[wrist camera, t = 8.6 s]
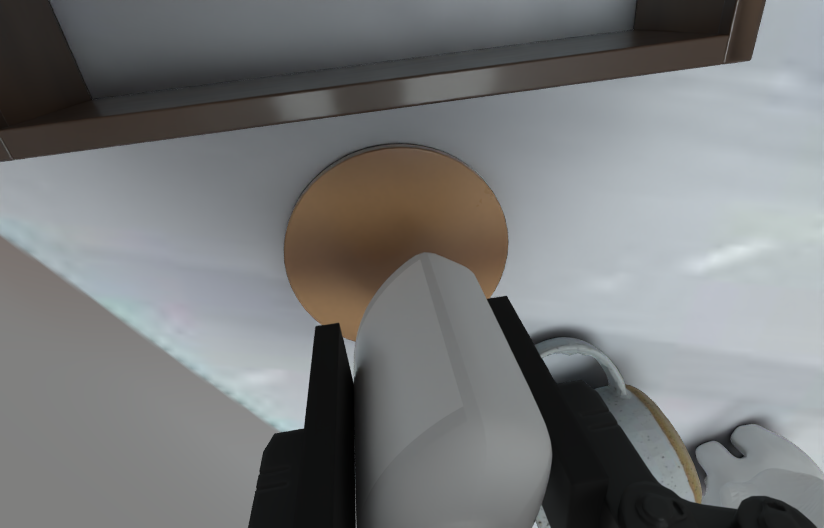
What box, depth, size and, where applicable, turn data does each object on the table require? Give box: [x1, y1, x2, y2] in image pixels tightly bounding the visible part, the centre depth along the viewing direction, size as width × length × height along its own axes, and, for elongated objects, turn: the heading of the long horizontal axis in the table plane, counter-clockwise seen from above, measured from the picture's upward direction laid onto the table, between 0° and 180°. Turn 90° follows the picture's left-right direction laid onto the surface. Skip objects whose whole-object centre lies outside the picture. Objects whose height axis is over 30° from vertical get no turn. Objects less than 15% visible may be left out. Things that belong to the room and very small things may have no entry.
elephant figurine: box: [696, 424, 824, 528], centre depth 28 cm, size 10×12×9 cm
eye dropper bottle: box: [354, 252, 552, 528], centre depth 11 cm, size 4×6×12 cm
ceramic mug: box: [535, 337, 702, 528], centre depth 23 cm, size 11×8×8 cm
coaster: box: [284, 144, 508, 342], centre depth 20 cm, size 10×10×1 cm
